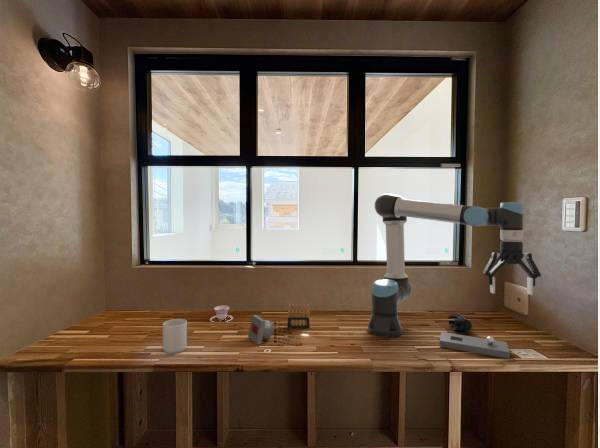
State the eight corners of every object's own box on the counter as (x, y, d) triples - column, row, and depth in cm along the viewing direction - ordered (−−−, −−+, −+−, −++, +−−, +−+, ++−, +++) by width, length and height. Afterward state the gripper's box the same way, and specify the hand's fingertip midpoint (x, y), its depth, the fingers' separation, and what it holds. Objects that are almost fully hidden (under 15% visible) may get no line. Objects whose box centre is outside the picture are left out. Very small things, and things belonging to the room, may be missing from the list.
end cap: (472, 334, 141) (472, 319, 141) (455, 333, 142) (455, 319, 142) (463, 326, 151) (463, 313, 151) (448, 326, 152) (448, 312, 152)
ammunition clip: (287, 327, 149) (287, 303, 149) (287, 326, 151) (287, 302, 151) (309, 328, 149) (309, 303, 149) (309, 326, 151) (309, 302, 151)
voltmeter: (241, 342, 131) (241, 319, 131) (255, 333, 142) (255, 312, 142) (298, 353, 121) (299, 328, 121) (309, 342, 131) (309, 319, 131)
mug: (184, 354, 120) (184, 325, 120) (160, 355, 118) (160, 326, 118) (190, 342, 132) (190, 315, 132) (168, 343, 130) (168, 316, 130)
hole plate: (439, 346, 128) (439, 340, 128) (441, 337, 137) (441, 331, 137) (509, 358, 116) (509, 352, 116) (506, 348, 126) (506, 342, 126)
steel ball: (485, 344, 123) (486, 337, 123) (485, 342, 126) (485, 334, 126) (494, 346, 122) (494, 338, 122) (494, 343, 125) (494, 336, 125)
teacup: (230, 323, 156) (230, 311, 156) (206, 323, 156) (206, 311, 156) (235, 316, 168) (235, 304, 168) (213, 315, 168) (213, 304, 168)
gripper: (481, 241, 123) (480, 294, 123) (552, 241, 118) (551, 297, 119) (474, 239, 130) (473, 290, 130) (540, 240, 126) (540, 292, 126)
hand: (510, 293), depth 124 cm, fingers open, 13 cm apart
